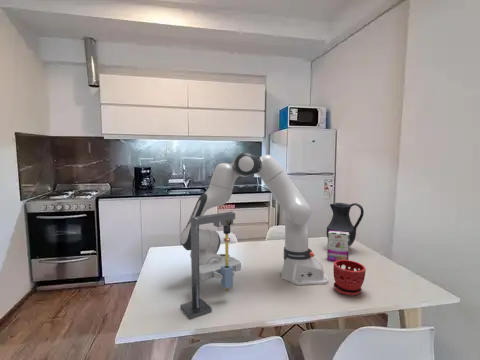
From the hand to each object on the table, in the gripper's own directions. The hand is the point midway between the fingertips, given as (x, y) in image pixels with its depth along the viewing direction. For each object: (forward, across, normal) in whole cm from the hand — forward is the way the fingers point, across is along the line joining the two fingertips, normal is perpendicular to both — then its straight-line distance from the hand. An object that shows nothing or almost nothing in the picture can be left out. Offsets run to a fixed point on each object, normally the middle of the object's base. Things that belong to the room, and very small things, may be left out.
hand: (228, 275), depth 120 cm
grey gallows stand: (-1, -8, +11) cm, 13 cm away
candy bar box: (-3, +74, +11) cm, 74 cm away
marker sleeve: (-1, 0, +5) cm, 5 cm away
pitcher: (-12, +90, +11) cm, 91 cm away
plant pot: (+22, +49, +11) cm, 55 cm away
